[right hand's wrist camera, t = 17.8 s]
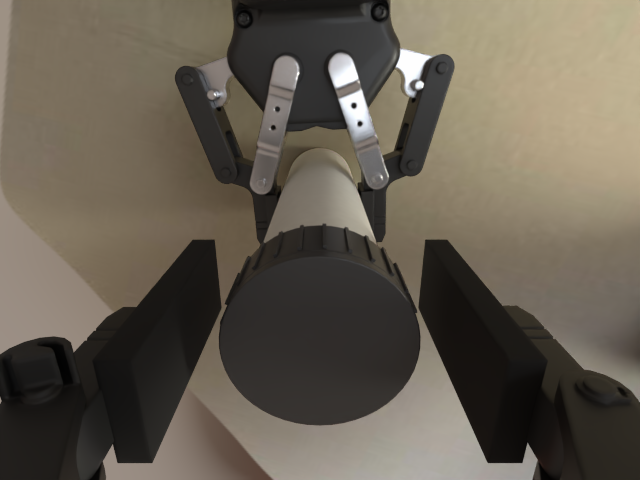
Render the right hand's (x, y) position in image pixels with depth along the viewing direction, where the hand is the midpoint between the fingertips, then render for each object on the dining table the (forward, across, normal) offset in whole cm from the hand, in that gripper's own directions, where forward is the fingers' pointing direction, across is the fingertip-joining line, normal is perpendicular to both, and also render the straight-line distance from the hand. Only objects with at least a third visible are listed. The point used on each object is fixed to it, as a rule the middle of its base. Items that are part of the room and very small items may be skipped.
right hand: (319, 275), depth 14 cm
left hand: (+9, 0, -3) cm, 9 cm away
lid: (-4, 0, 0) cm, 4 cm away
